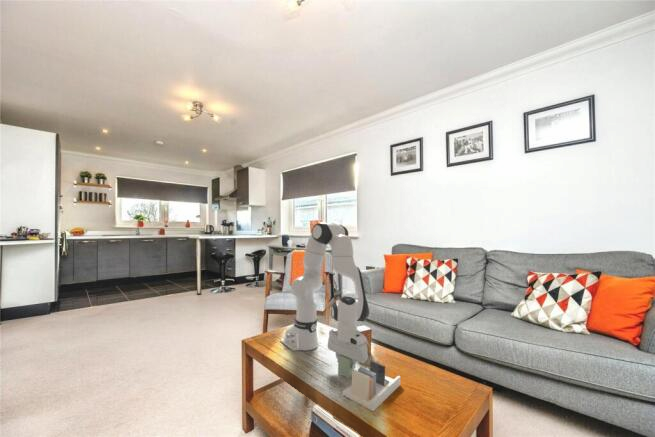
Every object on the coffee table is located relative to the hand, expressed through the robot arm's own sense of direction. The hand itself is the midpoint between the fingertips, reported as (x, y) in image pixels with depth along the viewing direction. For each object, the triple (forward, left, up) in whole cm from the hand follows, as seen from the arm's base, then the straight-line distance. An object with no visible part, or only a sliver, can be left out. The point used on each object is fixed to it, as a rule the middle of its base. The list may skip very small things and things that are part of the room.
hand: (346, 365), depth 120 cm
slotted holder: (+15, -2, -4) cm, 16 cm away
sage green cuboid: (0, 0, -4) cm, 4 cm away
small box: (-6, +22, -4) cm, 23 cm away
